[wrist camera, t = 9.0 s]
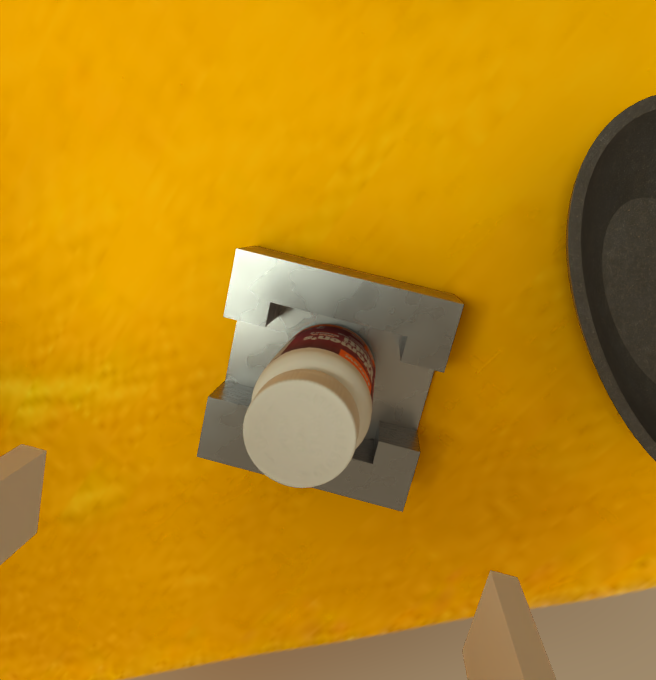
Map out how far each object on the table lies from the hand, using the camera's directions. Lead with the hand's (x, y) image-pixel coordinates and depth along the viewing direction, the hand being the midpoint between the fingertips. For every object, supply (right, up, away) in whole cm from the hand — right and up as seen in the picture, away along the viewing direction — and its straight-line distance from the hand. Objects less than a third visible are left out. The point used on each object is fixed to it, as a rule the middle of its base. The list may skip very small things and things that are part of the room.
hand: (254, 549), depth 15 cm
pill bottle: (+2, +4, +19) cm, 20 cm away
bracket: (+2, +4, +20) cm, 21 cm away
